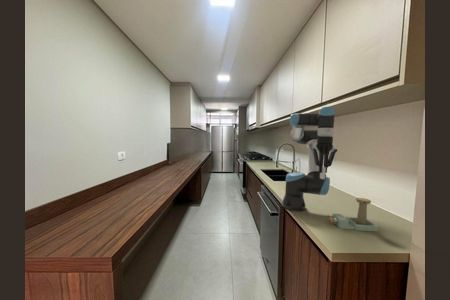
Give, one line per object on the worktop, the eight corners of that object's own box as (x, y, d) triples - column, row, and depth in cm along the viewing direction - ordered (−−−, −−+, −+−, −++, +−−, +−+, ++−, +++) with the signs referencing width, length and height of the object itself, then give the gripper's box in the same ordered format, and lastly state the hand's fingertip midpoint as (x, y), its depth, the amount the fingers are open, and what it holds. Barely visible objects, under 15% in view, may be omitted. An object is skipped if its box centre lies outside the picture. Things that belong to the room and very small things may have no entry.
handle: (352, 223, 103) (354, 197, 102) (366, 225, 101) (368, 198, 100) (355, 227, 98) (357, 200, 97) (370, 229, 96) (372, 201, 95)
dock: (331, 220, 105) (332, 212, 105) (365, 222, 104) (365, 214, 104) (341, 229, 96) (341, 220, 95) (377, 231, 94) (378, 222, 94)
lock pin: (328, 221, 102) (328, 216, 102) (341, 222, 102) (342, 216, 102) (331, 224, 99) (331, 218, 99) (344, 225, 99) (345, 219, 98)
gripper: (315, 135, 96) (312, 179, 98) (341, 136, 95) (338, 180, 97) (310, 135, 104) (307, 176, 106) (334, 136, 103) (331, 177, 105)
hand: (322, 178), depth 101 cm, fingers closed
